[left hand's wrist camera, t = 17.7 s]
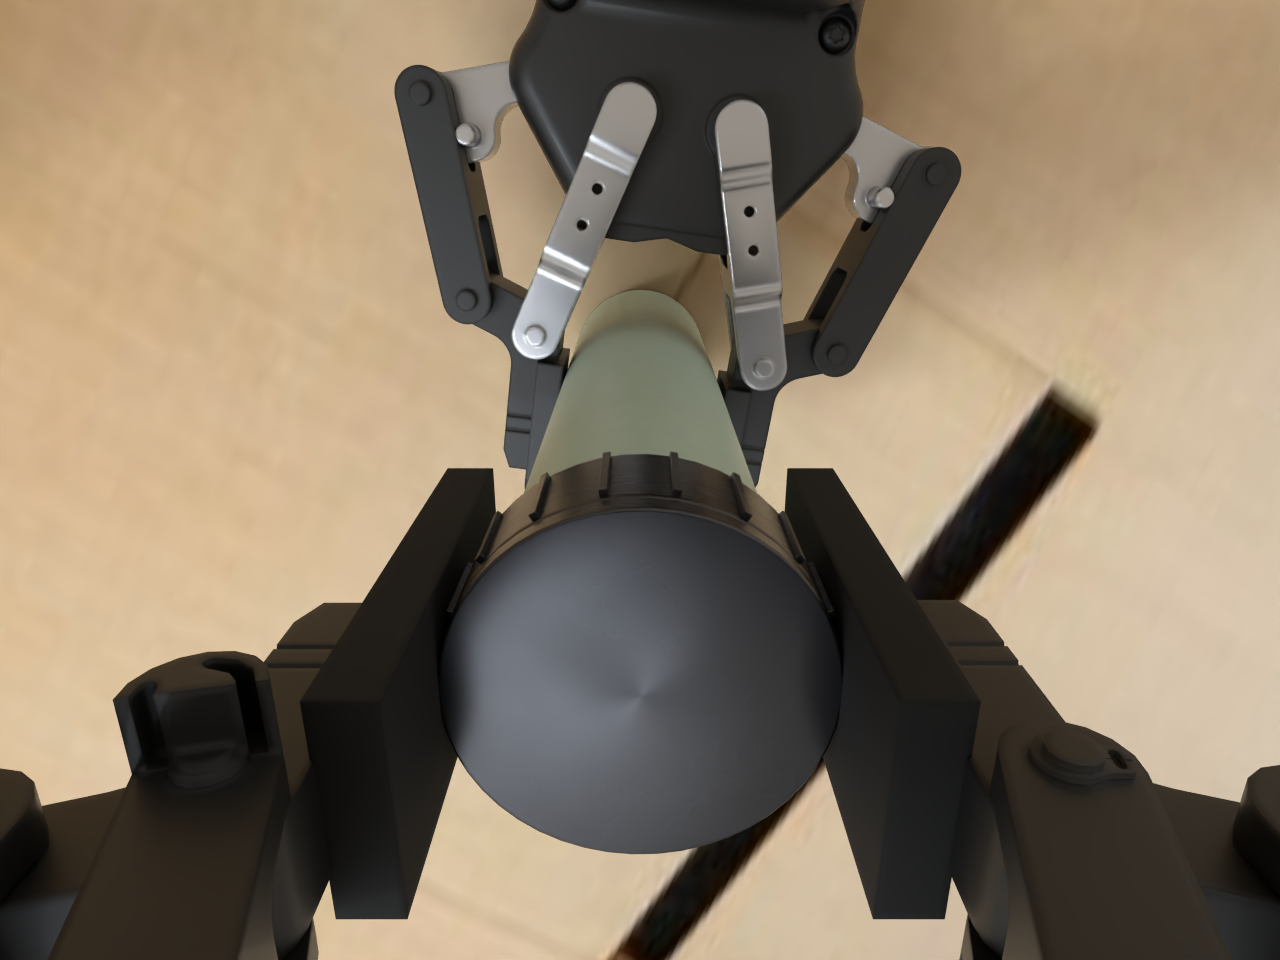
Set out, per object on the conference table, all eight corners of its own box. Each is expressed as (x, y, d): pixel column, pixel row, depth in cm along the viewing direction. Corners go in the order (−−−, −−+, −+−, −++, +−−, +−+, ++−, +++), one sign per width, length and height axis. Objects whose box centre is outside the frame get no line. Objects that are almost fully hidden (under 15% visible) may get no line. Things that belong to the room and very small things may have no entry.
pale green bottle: (696, 282, 28) (797, 490, 10) (707, 405, 30) (812, 779, 12) (570, 297, 28) (446, 527, 10) (586, 418, 30) (505, 806, 12)
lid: (402, 520, 12) (356, 586, 10) (759, 395, 11) (782, 441, 9) (542, 798, 13) (526, 900, 11) (859, 704, 13) (895, 796, 11)
